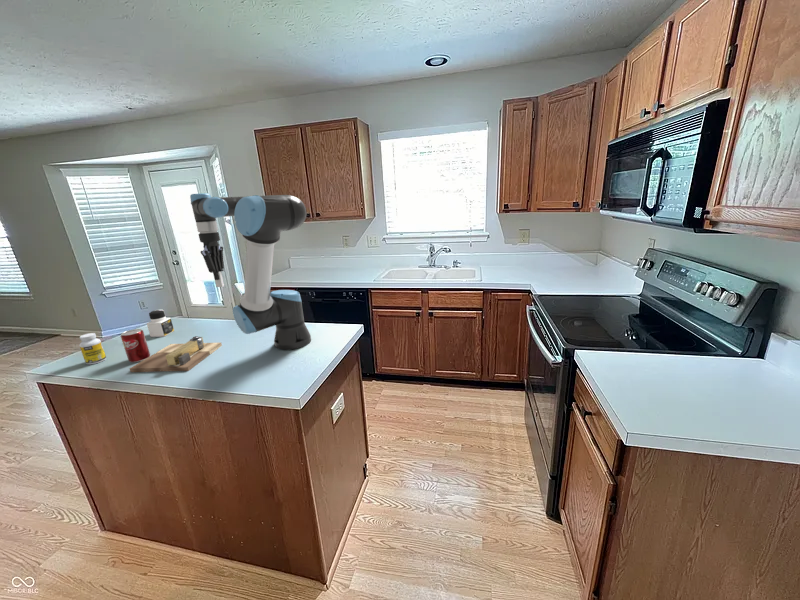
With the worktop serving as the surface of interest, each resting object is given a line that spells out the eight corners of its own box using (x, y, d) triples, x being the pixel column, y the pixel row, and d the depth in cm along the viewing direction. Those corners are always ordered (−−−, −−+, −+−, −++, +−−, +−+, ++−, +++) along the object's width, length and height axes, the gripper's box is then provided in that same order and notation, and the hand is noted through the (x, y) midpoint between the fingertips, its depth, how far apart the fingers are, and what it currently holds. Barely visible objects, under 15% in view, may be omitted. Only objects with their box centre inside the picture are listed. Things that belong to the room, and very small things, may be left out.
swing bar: (196, 345, 141) (193, 335, 140) (206, 345, 141) (203, 334, 140) (166, 365, 125) (163, 353, 124) (177, 364, 125) (174, 353, 123)
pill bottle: (83, 366, 132) (73, 339, 129) (89, 360, 138) (79, 334, 134) (104, 362, 135) (95, 336, 132) (108, 356, 141) (100, 330, 137)
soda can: (139, 363, 132) (130, 335, 129) (124, 362, 134) (115, 335, 130) (155, 355, 139) (147, 328, 135) (141, 354, 140) (132, 328, 137)
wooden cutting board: (221, 345, 145) (219, 336, 144) (188, 370, 124) (185, 359, 123) (171, 347, 146) (169, 337, 145) (130, 372, 125) (127, 361, 124)
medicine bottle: (164, 336, 159) (158, 313, 156) (150, 337, 159) (143, 313, 156) (174, 330, 166) (168, 308, 163) (160, 331, 166) (154, 308, 163)
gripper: (209, 231, 146) (220, 283, 153) (189, 234, 133) (203, 290, 140) (225, 230, 145) (236, 282, 152) (207, 233, 133) (220, 290, 140)
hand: (220, 286), depth 146 cm, fingers closed
